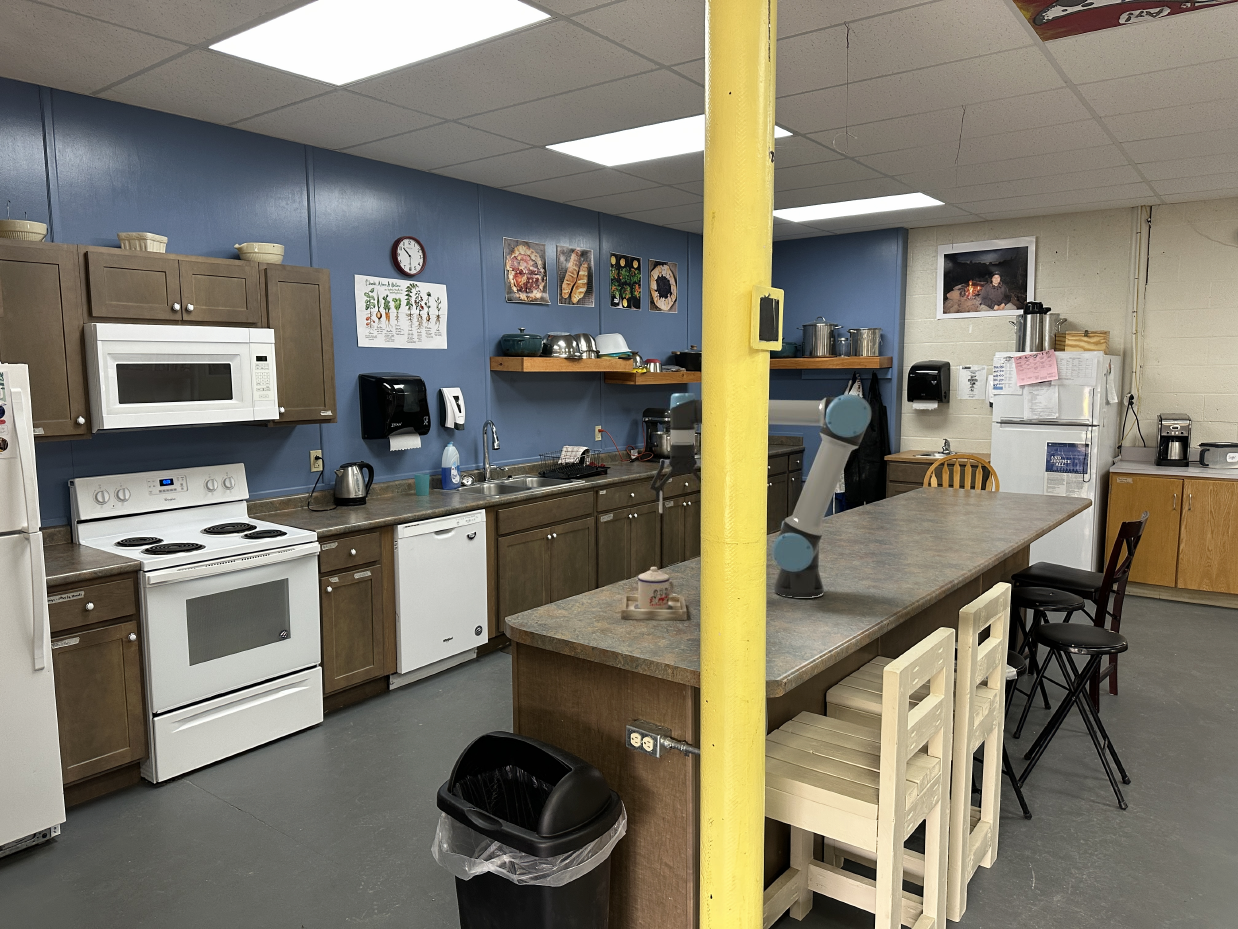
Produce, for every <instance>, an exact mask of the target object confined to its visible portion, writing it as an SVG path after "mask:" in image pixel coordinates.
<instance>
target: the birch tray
mask: <svg viewBox="0 0 1238 929" xmlns="http://www.w3.org/2000/svg"><path fill="white" fill-rule="evenodd" d="M685 602H686V601H685V598H684V595H670V596H669V604H668V608H667V609H666V610H653V609H640V608H639V607H638V594H622V597H621V608H620V609H621V610H620V615H621V616H620V618H621V620H651V621H652V620H655V621H657V620H658V621H659V620H660V621H661V620H662V621H665V620H668V621H669V620H670V621H671V620H672V621H687V614H688V613H687V607H686V603H685Z"/></svg>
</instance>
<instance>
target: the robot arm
mask: <svg viewBox="0 0 1238 929" xmlns="http://www.w3.org/2000/svg"><path fill="white" fill-rule="evenodd" d="M702 400H703V399H698V398H697V399H696V395H695V393H690V392H688V393H684V392H683V393H673V394H671V396H670V407H669V410H670V411H669V413H670V415H669V416H670V443H671V444H670V451H669V452H670V453H669V454H670V459H663V458H662V459H660V462H659V467H658V468H657V471H656V473H655V475H654V477H653V479H652V481H651V482H650V485H649V489H650V490H652V491H654V492H655V502H656V503H658V505H659V506H658V510H659V514H663V491H662V490H663V487H664V486H665V485H666V484H667V483H668V482H669V481H670V479H671V478H672V477H673V476H674V475H675V474H677V475H682V474H685V475H688V474H691V475H692V476H693V477H694V478H695V479H696V480H697V481H698V482H699V484H700V485H701V478H702V477H701V476H700V475H699V474H698V472H697V471H696V470H695V469H694V468H695V467H696V466H697V465H698V466H699V467H701V459H696V445H695V444H694V443H696V425H703V424H702ZM768 400H769V424H768V425H787V426H788V425H789V426H791V425H792V426H817V427H819V426H820V427H821V429H820V431H819V435H820V437H821V440H822V441H821V443H820V446H819V448H818V451H817V453H816V455H815V458H814V461H813V463H812V466H811V468H810V469H809V470H810V471H809V473H808V475H807V477H806V480H805V483H804V485H803V488H802V490H801V493H800V495H799V497H798V500H797V502H796V505H795V508H794V510H793V512H792V514H791V515H790V516H788V517H786V518H785V519H784V520H782V522H781V527H780V531H779V534H778V536H777V538H776V539H775V540H774V542H773V544H772V557H773V560H774V561H775V563H776V565H778V566H779V567H780V568H779V571H778V573H777V577H776V579H775V582H774V586H773V587H774V588H773V592H774V591H775V592H776V593H779V594H781V595H785V596H792V597H812V596H818V595H820V594H822V593H823V592H824V591H825V589H824V588H825V587H824V584H823V581H822V578H821V575H820V572H819V571H820V569H819V567H820V566H819V565H820V564H819V563H820V562H819V561H820V541H821V539H822V536H823V531H822V528H821V526H822V523H823V520H824V519H825V515H826V513H827V511H828V508H829V506H830V503H831V501H832V498H833V496H834V493H835V491H836V489H837V487H838V483H839V481H840V479H841V477H842V474H843V472H844V469H845V467H846V464H847V461H848V460H849V457H850V455H851V452H852V451H853V450H855V449H858V448H859V447H860V445H861V442H862V440H863V438H864V434H865V433H866V430H867V428H868V426H869V424H870V423H871V420H872V414H873V413H872V408H871V405H870V404H869V402H868V401H867V400H866V399H865V398H863V397H862V396H861V395H857V394H852V393H850V394H849V393H848V394H841V395H839V396H837V397H824V398H823V399H822V400H795V399H793V400H792V399H788V400H787V399H785V400H784V399H782V400H781V399H768ZM668 465H669V467H671V469H670V470H669V472H668V473H667V474H666V475H665V476H664V477H663V479H662V480H661V481H660V482H659V479H660V477H661V475H662V474H663V471H664V469H665V468H667V466H668ZM658 482H659V484H658V485H657V483H658ZM656 485H657V486H656ZM775 592H774V593H775ZM776 593H775V594H776ZM824 593H825V592H824Z"/></svg>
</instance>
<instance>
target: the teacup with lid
mask: <svg viewBox="0 0 1238 929" xmlns="http://www.w3.org/2000/svg"><path fill="white" fill-rule="evenodd" d="M637 580H638V592H637V593H638V594H637V595H638V607H639V608H640V609H653V610H666V609H667V608H668V604H669V596H672V595H673V593H674V590H675V584H674V581H672V580H671V579H670V576H669V575H668V574H666V573H664V572H662V571H660V570H658V568H657V566H651V567H650V570H647V571H646V572H644V573H643V572H642V573H640V574H639V575H638V577H637Z"/></svg>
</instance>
